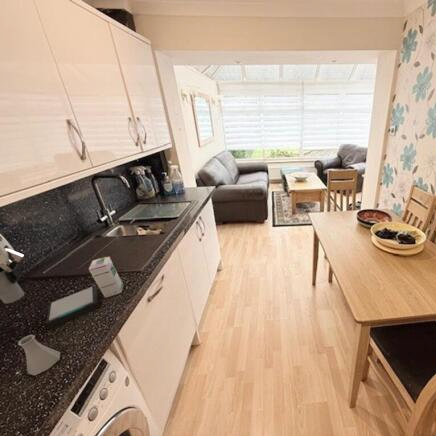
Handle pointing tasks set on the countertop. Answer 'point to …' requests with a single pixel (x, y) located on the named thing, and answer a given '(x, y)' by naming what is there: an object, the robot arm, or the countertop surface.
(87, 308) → the scale
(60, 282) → the countertop surface
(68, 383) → the countertop surface
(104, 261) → the syrup box
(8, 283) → the planter
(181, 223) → the countertop surface
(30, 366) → the flask
